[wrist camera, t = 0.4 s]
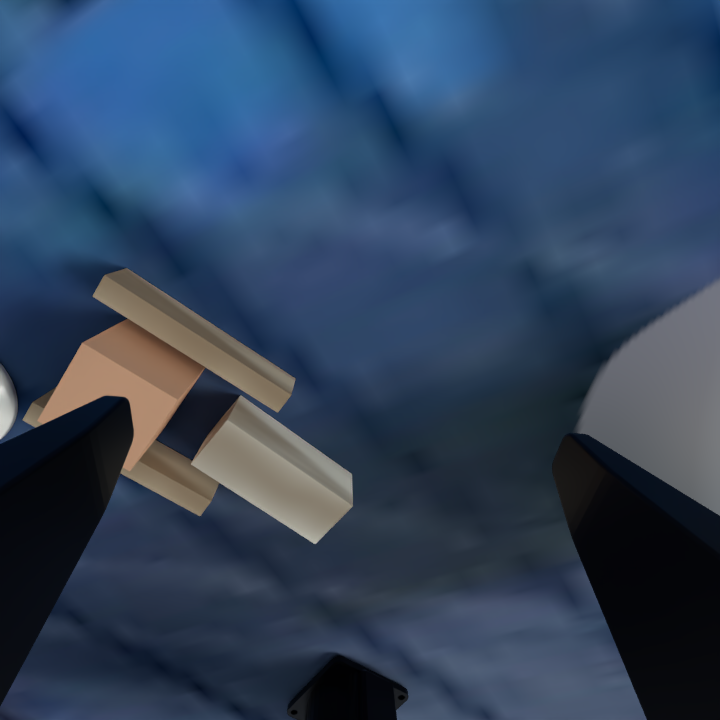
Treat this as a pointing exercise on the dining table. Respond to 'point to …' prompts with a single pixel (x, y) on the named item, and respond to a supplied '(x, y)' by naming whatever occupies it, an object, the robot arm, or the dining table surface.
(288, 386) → the channel
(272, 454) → the beige rectangular block
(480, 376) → the dining table surface
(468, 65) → the dining table surface
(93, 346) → the block
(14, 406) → the white flat disc
